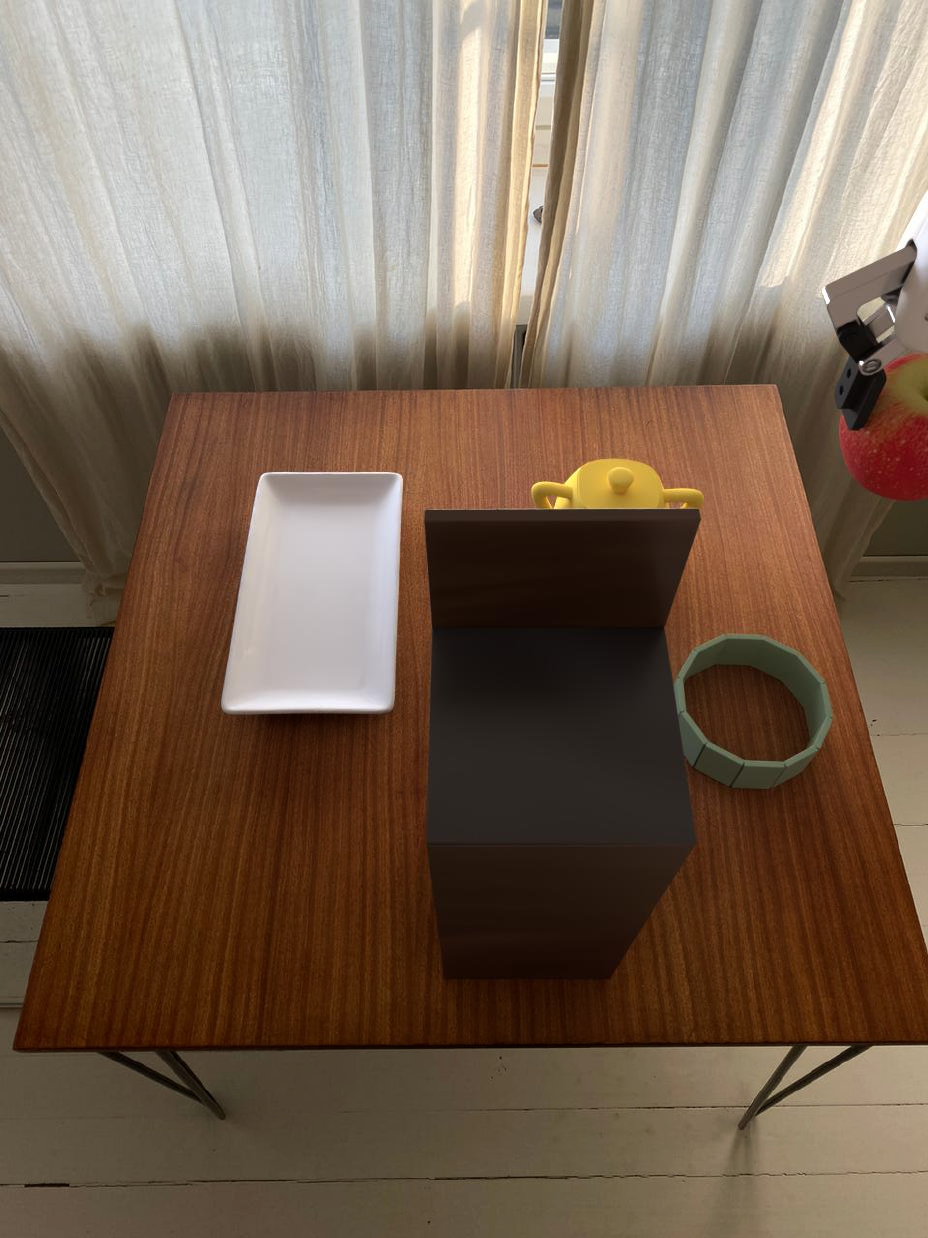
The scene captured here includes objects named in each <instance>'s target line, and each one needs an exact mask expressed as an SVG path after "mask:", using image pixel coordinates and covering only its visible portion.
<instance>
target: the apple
mask: <svg viewBox="0 0 928 1238" xmlns="http://www.w3.org/2000/svg"><path fill="white" fill-rule="evenodd" d="M884 371H885V373H886V376H887V380H886V383H885V385H884V387H883V389H882V391H881V393H880V395H879V397H878V399H877V401H876V403H875V405H874V407H873V410H872V412H871V414H870V416H869V418H868V420H867V422H866V424H865V426H864V427H863V428H861V429H860V430H859V431H849V430H848V427H847V425H846V422H845V419H844V416H843V413H842V412H841V415H840V419H839V425H838V426H839V427H838V428H839V429H838V432H839V433H838V434H839V435H838V436H839V437H838V438H839V444H840V451H841V454H842V456H843V461H844V463H845V465H846V467H847V469H848V471H849V473H850V475H851V476H852V478H853V479H854V480H855V481H856V482H857V484H859V486H861V487H862V488H863V489H865V490H867V491H868V492H870V493H872V494H875V495H877V496H880V497H881V498H882V497H883V498H885V499H889V500H893V501H900V502H916V501H920V500H925V499H927V498H928V354H924V353H911V354H907V355H904V356H900V357H898V358H896V359H895V360H894V361H892V362H891V363H890V364H888V365H887V366H886V367H884Z"/></svg>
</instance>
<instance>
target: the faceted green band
mask: <svg viewBox="0 0 928 1238" xmlns="http://www.w3.org/2000/svg"><path fill="white" fill-rule="evenodd" d="M714 665H729V666H731V665H733V666H750V667H752V668H754V669H756V670H758V671H760V672H762V673H764V674H766V675H768V676H771V677H772V678H775V679H776V680H778V681H781V682H782V684H783V685H784V686H785V687H786V689H787V690H788V691H789V692H790V693H791V694H792V695H793V697H794V698H795V699H796V700H797V702H798V703H799V704H800V705H801V706H802V708H803V709H804V715H805V720H806V725H807V731H808V736H809V742H807V745H806V747H805V750H803V751H801V752H799V753H797V754H795V755H793V756H791V757H790V758H788V759H786V760H784V761H769V760H745V759H743V758H741V757H739V756H737V755H736V754H733V753H731V752H730V751H727V750H726V749H724V748H722V747H720V746H718V745H716V744H714V743H713V742H710V741H709V739H707V737H706V735H704V733H703V732H702V730H701V729H700V728H699V726H698V725H697V723H696V722H695V721H694V720H693V718H692V717H691V716H690V714H689V712H687V705H686V703H687V702H686V696H685V695H686V694H685V686H684V685H685V684H686V681H687V680H688V678H691V677H692V676H694V675H696V674H698V673H700V672H702V671H704V670H707V669H708V668H710V667H712V666H714ZM673 686H674V692H675V699H676V706H677V712H678V719H679V726H680V732H681V739H682V746H683V752H684V758H685V759H686V760H687V761H688V763H689V764H690V765H691V767H693V768H694V769H695V770H697V771H698V772H701V773H702V774H703V775H706V776H708V777H710V778H711V779H713V780H715V781H717V782H719V783H720V784H722V785H724V786H726V787H730V788H732V789H733V788H734V789H736V788H737V789H755V790H757V789H759V790H770V789H774V788H775V787H777V786H779V785H781V784H783V783H785V782H787V781H789V780H791V779H792V778H794V777H796V776H798V775H800V774H802V772H803V771H804V770H805V769H806V768H807V767H808V765H809V764H810V762H811V761H812V760H813V758H814V757H815V756H816V755H817V753H818V752H819V751H820V749H821V748H822V745H823V743H824V741H825V739H826V737H827V736H828V735H827V734H828V732H829V730H830V728H831V726H832V723H833V721H834V714H833V708H832V704H831V699H830V694H829V690H828V685H827V683H826V681H825V679H824V678H823V677H822V676H821V675H820V673H819V672H818V671H817V670H816V669H815V668H814V666H813V665H812V664H811V663H810V661H808V659H806V657H805V656H804V655H803V654H802V653H800V651H798V650H796V649H794V648H792V647H790V646H788V645H785V644H783V643H781V642H780V641H777V640H775V639H774V638H771V637H769V636H767V635H763V634H746V633H725V634H721V635H719V636H717V637H715V638H713V639H711V640H708V641H707V642H705V643H702V644H699V645H698V646H696V647H694V648H693V649H692V650H691V652H690V653H689V655H688V657H687V659H686V660H685V662H684V664H683V665H682V667H681V669H680V671H679V672H678V674H677V675H676V678H675V681H674V682H673Z"/></svg>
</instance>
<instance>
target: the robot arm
mask: <svg viewBox="0 0 928 1238" xmlns="http://www.w3.org/2000/svg"><path fill="white" fill-rule="evenodd" d="M821 297H822V299H823V302H824V305H825V308H826V310H827V313H828V316H829V318H830V321H831V323H832V326H833V330H834V332H835V334H836V336H837V339H838V342H839V344H840V346H842V348H843V349H844V350H845V352H846V353H847V354H848V355H849V356H848V358H847V360H846V362H845V365H844V367H843V370H842V371H841V374H840V376H839V378H838V381H837V382H836V385H835V388H834V392H833V399H834V403H835V407H836V408H837V409H838V410H841V414H842V413H843V416H844V419H845V422H846V425H847V427H848V430H849V431H859V430H860V429H861V428H863V427H864V426H865V424H866V422H867V420H868V418H869V416H870V414H871V412H872V410H873V407H874V405H875V403H876V401H877V399H878V397H879V395H880V393H881V391H882V389H883V387H884V385H885V383H886V380H887V376H886V373H885V371H884V367H886V366H887V365H888V364H890V363H891V362H892V361H894V360H895V359H898V358H900V357H901V356H902V355H903V354H904V353H905V352H907V351H910V352H912V353H916V354H921V353H922V354H928V189H927V190H926V192H925V193H924V195H923V197H922V198H921V200H920V202H919V203H918V206H917V208H916V210H915V211H914V213H913V215H912V217H911V219H910V221H909V223H908V225H907V226H906V228H905V230H904V232H903V234H902V236H901V239H900V240H899V242H898V245H897V247H896V249H895V251H893V252H892V253H890V254H888V255H886V256H884V257H882V258H880V259H878V260H876V261H873V262H872V263H869V264H867V265H865V266H862V267H861V268H859V269H857V270H855V271H853V272H850V273H848V274H846V275H844V276H842V277H839V278H838V279H836V280H834V281H831V282H829V283H828V284H826V285H825V286H824V287H823V288H822V290H821ZM878 298H880V299H881V300H882V301H883V304H882V305H880V306H879V307H878V308H877V309H875V310H874V311H873V312H872V313H870V314H869V315H868V316H866V317H865V318H864V319H862V318H861V317H860V316H859V314H858V312H859V309H860V308H861V307H862V306H864V305H865V304H868V303H870V302H872V301H874V300H877V299H878ZM892 327H893V331H892V332H890V333H889V334H888V335H887V336H886V337H884V338H882V340H880V341H878V338H879V337H881V336H882V335H883V334H884V333H886V332H887V331H888V330H890V329H891V328H892Z"/></svg>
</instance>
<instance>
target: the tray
mask: <svg viewBox="0 0 928 1238" xmlns="http://www.w3.org/2000/svg"><path fill="white" fill-rule="evenodd" d="M403 491H404V478H403V476H402V475H401V474H400V473H397V472H384V471H383V472H382V471H381V472H380V471H378V472H377V471H376V472H373V471H370V472H369V471H367V472H365V471H363V472H361V471H360V472H359V471H358V472H328V471H327V472H321V471H319V472H301V471H300V472H299V471H297V472H295V471H294V472H292V471H291V472H289V471H284V472H282V471H281V472H280V471H279V472H277V471H276V472H275V471H274V472H265V473H263V474H262V475H260V477H259V480H258V484H257V487H256V492H255V497H254V502H253V507H252V513H251V518H250V524H249V530H248V536H247V542H246V548H245V552H244V553H245V554H244V559H243V565H242V571H241V576H240V583H239V589H238V595H237V601H236V608H235V614H234V621H233V627H232V634H231V640H230V644H229V645H230V646H229V652H228V658H227V665H226V668H225V669H226V671H225V676H224V682H223V689H222V694H221V699H220V700H221V701H220V708H221V711H222V712H223V713H225V714H227V715H281V714H283V715H284V714H285V715H286V714H287V715H288V714H350V715H352V714H354V715H355V714H358V715H359V714H360V715H362V714H363V715H381V714H382V715H383V714H389V713H390V712H391V711H393V709H394V706H395V700H396V699H395V697H396V676H397V675H396V674H397V673H396V672H397V671H396V669H397V644H398V643H397V642H398V621H399V620H398V618H399V596H400V595H399V593H400V590H399V589H400V565H401V562H400V561H401V535H402V534H401V533H402V532H401V531H402V530H401V529H402V510H403V494H404V493H403Z"/></svg>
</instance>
